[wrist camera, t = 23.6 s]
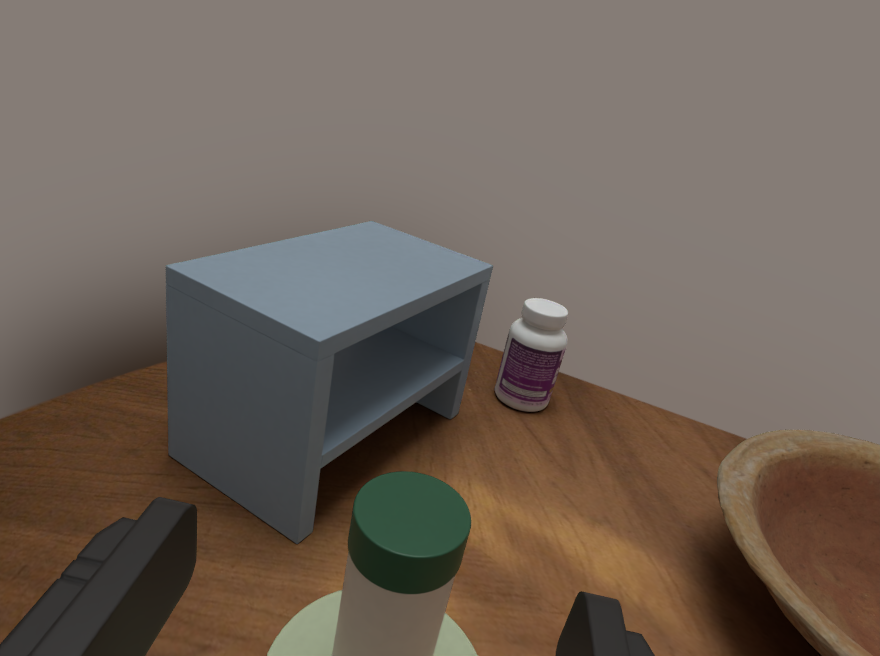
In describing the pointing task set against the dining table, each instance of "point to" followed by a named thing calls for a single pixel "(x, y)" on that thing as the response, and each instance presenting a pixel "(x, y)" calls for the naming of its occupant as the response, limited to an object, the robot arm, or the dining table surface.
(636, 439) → the dining table surface
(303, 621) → the mat
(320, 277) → the shelf
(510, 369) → the pill bottle
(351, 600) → the spice bottle
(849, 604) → the bowl
